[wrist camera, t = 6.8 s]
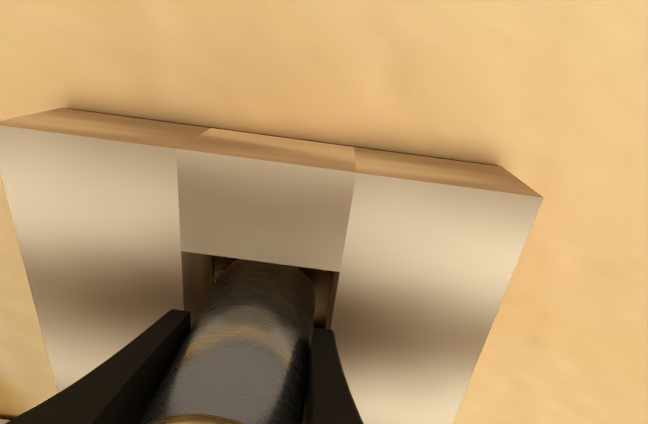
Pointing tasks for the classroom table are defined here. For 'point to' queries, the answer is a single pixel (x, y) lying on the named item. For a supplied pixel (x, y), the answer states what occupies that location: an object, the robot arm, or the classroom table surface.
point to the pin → (243, 351)
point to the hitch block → (264, 243)
